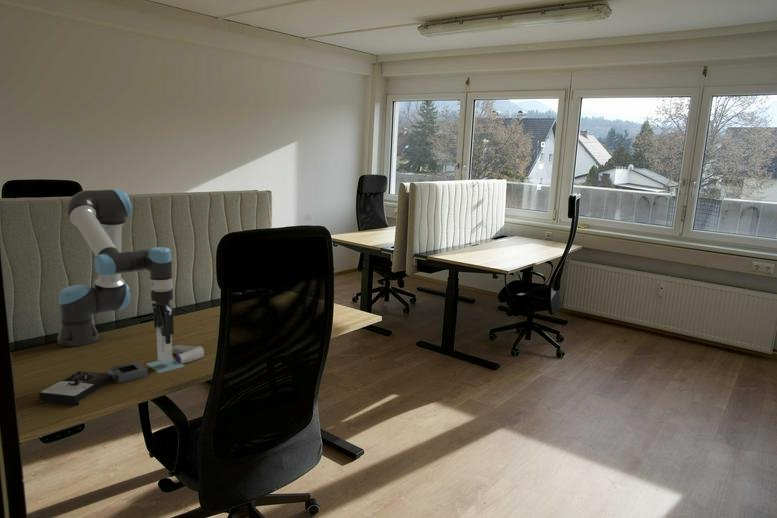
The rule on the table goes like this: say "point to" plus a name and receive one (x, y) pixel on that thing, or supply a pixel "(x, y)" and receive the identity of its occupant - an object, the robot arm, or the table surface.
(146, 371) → the socket block
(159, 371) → the slate mat
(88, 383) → the multimeter
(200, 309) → the table surface
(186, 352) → the infrared thermometer
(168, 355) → the long steel block
